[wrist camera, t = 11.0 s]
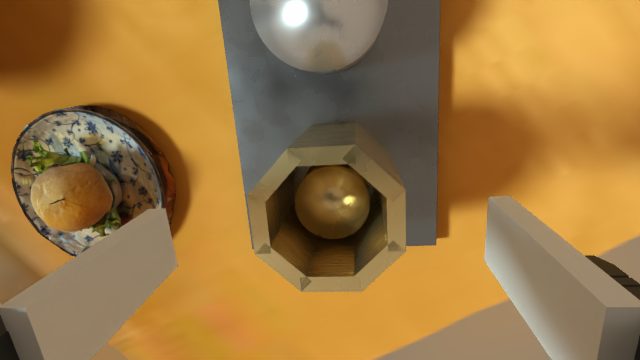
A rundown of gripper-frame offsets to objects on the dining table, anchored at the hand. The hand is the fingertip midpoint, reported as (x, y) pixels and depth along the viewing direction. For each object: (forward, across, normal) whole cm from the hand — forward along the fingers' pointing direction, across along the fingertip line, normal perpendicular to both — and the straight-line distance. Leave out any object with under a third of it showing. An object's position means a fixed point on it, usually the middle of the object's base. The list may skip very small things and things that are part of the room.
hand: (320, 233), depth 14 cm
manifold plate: (+11, 0, +4) cm, 11 cm away
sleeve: (+10, 0, 0) cm, 10 cm away
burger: (+11, -18, -1) cm, 21 cm away
